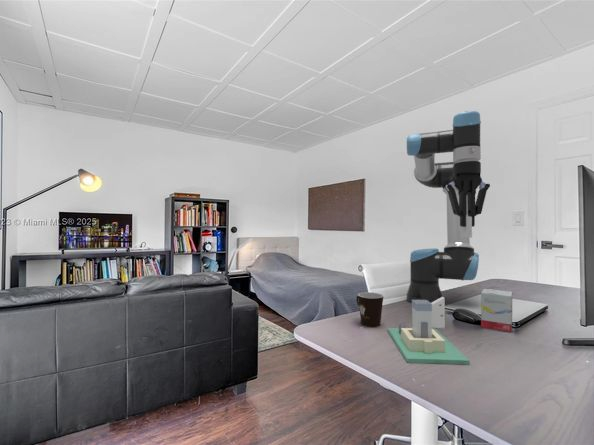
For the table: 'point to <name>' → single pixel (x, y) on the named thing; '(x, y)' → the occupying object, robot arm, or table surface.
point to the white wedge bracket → (438, 313)
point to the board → (426, 347)
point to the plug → (421, 319)
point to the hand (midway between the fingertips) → (467, 237)
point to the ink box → (496, 310)
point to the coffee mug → (370, 308)
